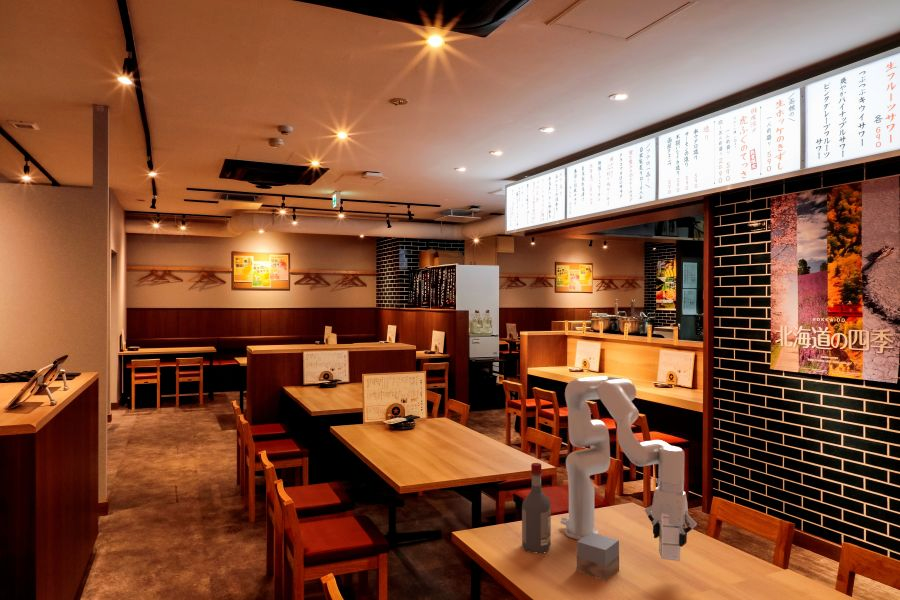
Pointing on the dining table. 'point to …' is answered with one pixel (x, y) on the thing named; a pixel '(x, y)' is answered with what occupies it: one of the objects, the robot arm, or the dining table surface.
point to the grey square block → (598, 548)
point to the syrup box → (668, 539)
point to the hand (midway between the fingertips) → (669, 540)
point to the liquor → (536, 516)
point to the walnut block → (598, 568)
